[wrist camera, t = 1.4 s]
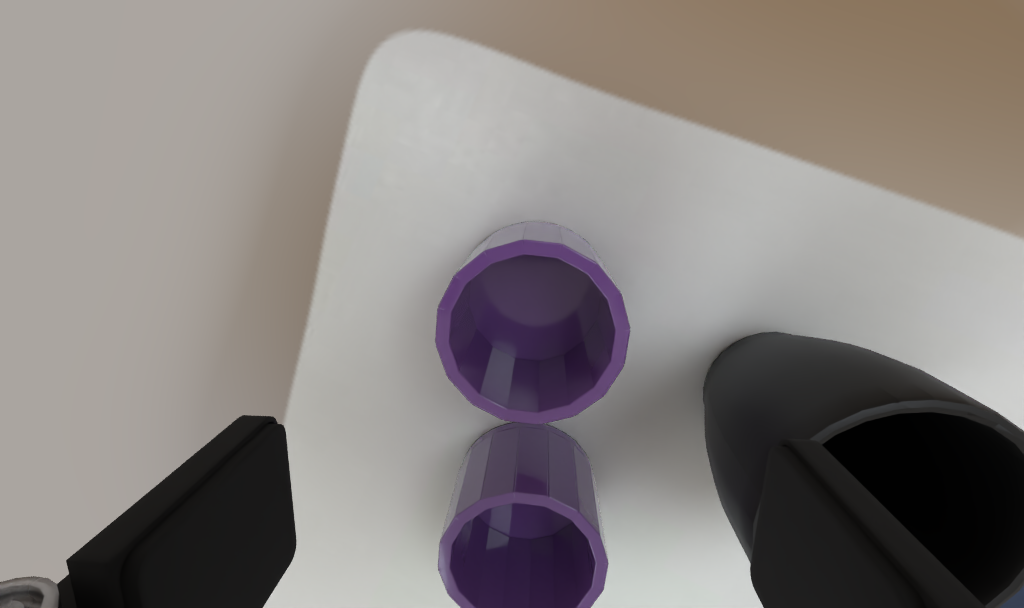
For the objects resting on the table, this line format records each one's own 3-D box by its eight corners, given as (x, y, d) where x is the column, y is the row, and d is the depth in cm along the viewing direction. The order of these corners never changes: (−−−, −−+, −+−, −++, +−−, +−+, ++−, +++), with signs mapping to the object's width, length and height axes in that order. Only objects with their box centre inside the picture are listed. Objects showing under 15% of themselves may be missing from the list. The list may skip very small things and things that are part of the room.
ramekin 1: (587, 201, 22) (601, 216, 17) (624, 344, 24) (648, 399, 18) (440, 245, 23) (409, 272, 18) (486, 380, 25) (469, 442, 19)
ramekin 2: (574, 406, 25) (582, 476, 19) (608, 523, 26) (625, 617, 21) (442, 439, 26) (415, 514, 20) (483, 549, 27) (468, 646, 22)
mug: (892, 507, 25) (1091, 707, 16) (649, 444, 25) (709, 609, 16) (975, 351, 23) (1263, 479, 14) (709, 281, 23) (820, 364, 14)
